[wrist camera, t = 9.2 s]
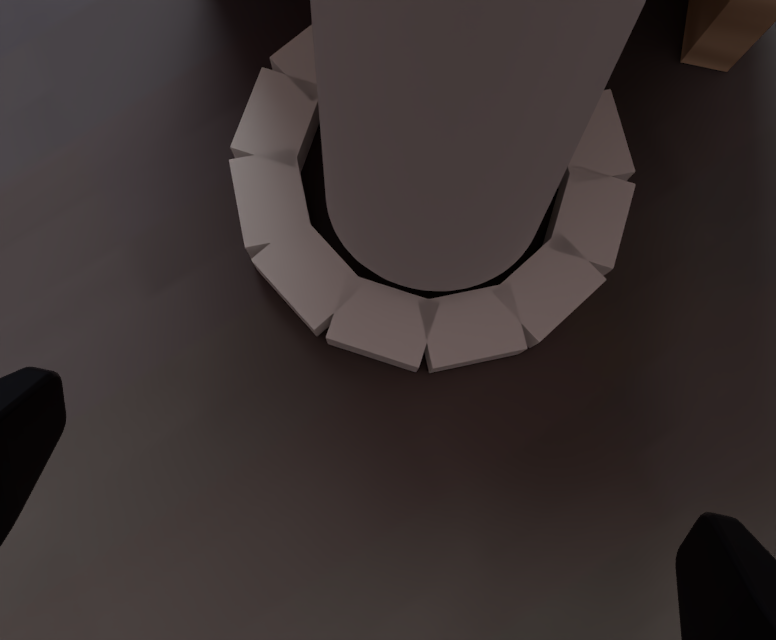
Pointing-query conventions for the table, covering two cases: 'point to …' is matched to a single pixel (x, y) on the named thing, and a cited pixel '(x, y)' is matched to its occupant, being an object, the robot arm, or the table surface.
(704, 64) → the wooden tray
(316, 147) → the table surface
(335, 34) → the beverage can
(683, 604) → the robot arm
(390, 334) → the socket ring
